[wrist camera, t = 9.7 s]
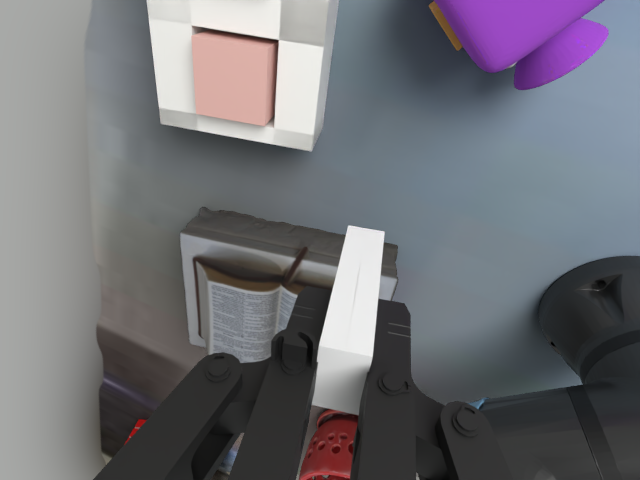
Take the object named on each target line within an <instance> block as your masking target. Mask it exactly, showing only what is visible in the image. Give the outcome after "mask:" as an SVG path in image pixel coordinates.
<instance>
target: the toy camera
mask: <svg viewBox="0 0 640 480" xmlns="http://www.w3.org/2000/svg"><path fill="white" fill-rule="evenodd" d="M603 1H604V0H434V1H433V2H432V3H431V4H429V8H430V9H431V11H432V12H433V14H434V16H435V17H436V19H437V20H438V22H439V24H440V25H441V27H442V28H443V30H444V31H445V33H446V35H447V36H448V38H449V39H450V41H451V42H452V44H453V46H454V47H455V49H456V50H457V51H458V50H460V49H461V48H462V47H463V48H464V49H465V50H466V52H467V53H468V55H469V56H470V57H471V59H472V60H473V61H474V62H475V63H476V64H477V66H479V67H480V68H481V69H482V70H484V71H486V72H489V73H495V72H499V71H502V70H504V69H508V68H511V67H512V66H514V65H515V64H516V68H515V74H514V86H515V88H516V89H518V90H527V89H532V88H536V87H539V86H542V85H544V84H547V83H549V82H552V81H554V80H556V79H558V78H560V77H562V76H564V75H566V74H567V73H569V72H570V71H572V70H573V69H575V68H576V67H578V66H579V65H581V64H582V63H583V62H585V61H586V60H587V59H588V58H590V57H591V56H592V55H593V54H594V53H595V52H596V51H597V50H598V49H599V48H600V47H601V46H602V44H603V43H604V42H605V40H606V39H607V37H608V29H607V28H606V27H605V26H603V25H601V24H599V23H596V22H593V21H590V20H586V19H582V18H581V17H583V16H584V15H585V14H587V13H588V12H590V11H591V10H592V9H594V8H595V7H596V6H598V5H599V4H600V3H602V2H603Z"/></svg>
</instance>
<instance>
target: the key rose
mask: <svg viewBox="0 0 640 480" xmlns="http://www.w3.org/2000/svg"><path fill="white" fill-rule="evenodd" d="M191 40H192V56H193V72H194V88H195V105H196V114H199V115H205V116H210V117H216V118H222V119H227V120H233V121H238V122H244V123H249V124H255V125H260V126H265V125H266V124H267V123H268V122H269V121H270V119H271V118H272V117H273V116H274V115H275V102H276V84H277V65H278V47H279V41H278V40H272V39H266V38H260V37H254V36H248V35H242V34H236V33H230V32H224V31H217V30H211V29H210V30H207V31H204V32H201V33H198V34H195V35H192V36H191Z"/></svg>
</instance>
